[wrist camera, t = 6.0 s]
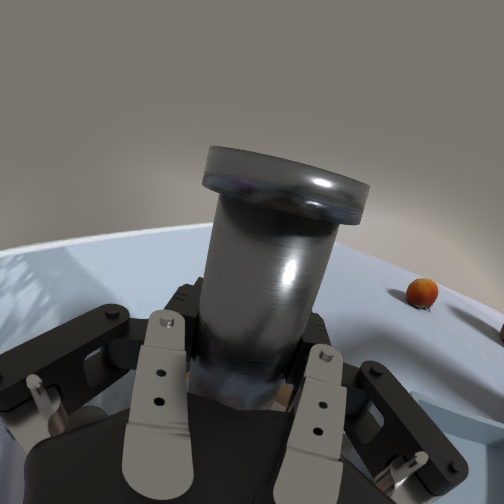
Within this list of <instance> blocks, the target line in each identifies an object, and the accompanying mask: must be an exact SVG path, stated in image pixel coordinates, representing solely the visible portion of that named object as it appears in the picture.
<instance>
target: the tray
mask: <svg viewBox="0 0 504 504" xmlns="http://www.w3.org/2000/svg"><path fill="white" fill-rule="evenodd" d="M410 395H411V396H412V397H413V398H414V400H415V401H416V402H417V403H418V404H419V405H420V406H421V408H422V409H423V410H424V411H425V412H426V413H427V415H428V416H429V417H430V418H431V419H432V420H433V422H434V423H435V424H436V425H437V426H438V427H439V429H440V430H441V431H442V432H443V433H444V435H445V436H446V437H447V438H448V439H449V441H450V442H451V443H452V444H453V445H454V447H455V448H456V449H457V450H458V451H459V453H460V454H461V455H462V456H463V457H464V459H465V460H466V462H467V464H468V467H469V474H468V476H467V478H466V479H465V480H464V481H463V482H462V483H461V484H459V485H458V486H457V487H455V488H454V489H453V490H451V491H450V492H449V493H447V494H446V495H444V496H443V497H441V498H440V499H438V500H437V501H435V502H434V503H432V504H504V424H503V423H500V422H497V421H494V420H490V419H487V418H484V417H481V416H478V415H475V414H473V413H470V412H467V411H464V410H461V409H458V408H456V407H453V406H450V405H447V404H445V403H442V402H440V401H437V400H434V399H432V398H429V397H427V396H424V395H422V394H419V393H417V392H414V391H411V393H410ZM373 483H374V480H373Z"/></svg>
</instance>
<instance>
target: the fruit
mask: <svg viewBox="0 0 504 504" xmlns="http://www.w3.org/2000/svg"><path fill="white" fill-rule="evenodd" d="M406 295H407V299H408V301H409V303H410V304H411V305H413V306H416V307H418V308H419V309H421V308H427V309H429V308H430V307H431V306H432V304H433V303H434V302H435V300H436V298H437V296H438V287H437V285H436V283H435V282H433V281H432V280H430V279H426V278H425V279H416V280H415V281H413V282H412V283H411V284H410V285H409V286H408V289H407V291H406ZM429 311H430V309H429Z"/></svg>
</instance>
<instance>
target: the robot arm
mask: <svg viewBox="0 0 504 504" xmlns="http://www.w3.org/2000/svg"><path fill="white" fill-rule="evenodd" d="M202 284H203V278H202V277H199V278H198V279H197V281H196V283H195V284H194V286H193V285H189V284H185V285H183V286H180V287H179V288H178V289H177V291H176V292H175V294H174V295H173V297H172V298H171V299H170V301H169V302H168V304H167V305H166V307H165V308H164V310H157V311H155V312H153V313H152V314H151V315H150V317H149V319H135V318H130V314H129V311H128V310H127V309H126V308H125V307H123V306H121V305H118V304H105V305H102V306H100V307H98V308H95V309H93V310H91V311H89V312H87V313H85V314H83V315H81V316H79V317H77V318H74V319H72V320H70V321H68V322H66V323H64V324H62V325H60V326H58V327H56V328H54V329H52V330H49V331H47V332H45V333H43V334H41V335H39V336H37V337H35V338H33V339H31V340H29V341H27V342H25V343H23V344H21V345H19V346H17V347H15V348H13V349H11V350H9V351H7V352H5V353H3V354H1V355H0V423H1V424H2V425H3V426H4V427H5V429H6V430H7V432H8V433H9V434H10V436H11V437H12V438H13V439H14V440H16V441H17V442H18V443H19V445H20V446H21V447H22V449H23V450H24V451H25V453H26V454H27V457H26V460H25V465H24V479H25V492H24V500H23V504H432V503H434V502H435V501H437V500H438V499H440V498H441V497H443V496H444V495H446V494H447V493H449V492H450V491H451V490H453V489H454V488H455V487H457V486H458V485H459V484H461V483H462V482H463V481H464V480H465V479H466V478H467V476H468V474H469V467H468V464H467V462H466V460H465V459H464V457H463V456H462V455H461V454H460V453H459V451H458V450H457V449H456V448H455V447H454V445H453V444H452V443H451V442H450V441H449V439H448V438H447V437H446V436H445V435H444V433H443V432H442V431H441V430H440V429H439V427H438V426H437V425H436V424H435V423H434V422H433V420H432V419H431V418H430V417H429V416H428V415H427V413H426V412H425V411H424V410H423V409H422V408H421V406H420V405H419V404H418V403H417V402H416V401H415V400H414V398H413V397H412V396H411V395H410V394H409V393H408V391H407V390H406V389H405V388H404V387H403V386H402V385H401V383H400V382H399V381H398V380H397V379H396V378H395V377H394V376H393V374H392V373H391V372H390V371H389V370H388V369H387V368H386V367H385V366H384V365H382V364H380V363H378V362H375V361H365V362H363V363H362V365H361V367H360V368H357V367H355V366H352V365H349V364H346V363H344V362H343V356H342V354H341V353H340V352H339V351H338V350H337V349H336V348H334V347H332V346H331V343H330V340H329V337H328V333H327V330H326V327H325V323H324V320H323V319H322V318H321V317H320V316H319V315H318V314H317V313H313V312H312V310H311V313H310V316H309V318H308V321H307V324H306V326H305V329H304V331H303V334H302V337H301V339H300V342H299V344H298V347H297V349H296V352H295V354H294V357H293V359H292V362H291V364H290V366H289V369H288V371H287V374H286V376H285V383H288V384H293V386H294V388H293V390H292V392H291V394H290V397H289V400H288V403H287V406H286V408H285V411H284V412H282V411H275V410H236V409H233V408H231V407H229V406H226V405H224V404H222V403H219V402H217V401H215V400H212V399H210V398H208V397H204V396H200V395H196V394H192V393H188V392H187V380H186V362H190V360H191V358H192V352H193V345H194V338H195V331H196V324H197V317H198V310H199V303H200V297H201V290H202ZM98 348H100V352H98V353H96V354H95V355H93V356H92V357H90V358H88V359H87V360H85V358H86V357H87V355H89V354H90V353H92V352H93V351H95V350H97V349H98ZM84 360H85V361H84ZM130 369H134V370H136V375H135V381H134V387H133V393H132V400H131V407H130V408H128V409H125V410H123V411H120V412H118V413H115V414H113V415H110V416H108V417H105V418H103V419H100V420H98V421H95V422H92V423H90V424H87V425H84V426H81V427H78V428H76V429H73V430H70V431H67V432H64V433H63V430H64V429H65V428H66V426H67V424H68V416H69V415H70V414H72V413H73V412H74V411H76V410H77V409H79V408H80V407H81V406H83V405H84V404H86V403H87V402H88V401H90V400H91V399H92V398H94V397H95V396H97V395H98V394H99V393H101V392H102V391H104V390H105V389H106V388H108V387H109V386H110V385H112V384H113V383H114V382H116V381H117V380H119V379H120V378H121V377H123V376H124V375H125V374H127V373H128V372H129V371H130ZM373 404H374V405H375V406H376V407H377V409H378V410H379V411H380V413H381V414H382V416H383V417H384V425H383V427H382V428H381V427H380V425H379V424H378V423H377V421H376V420H375V419H374V417H373V416H372V414H371V413H370V412H369V409H370V408H371V406H372V405H373ZM343 430H344V431H345V433H346V435H347V436H348V438H349V440H350V441H351V443H352V444H353V446H354V448H355V449H356V451H357V452H358V454H359V456H360V457H361V459H362V460H363V462H364V464H365V465H366V467H367V468H368V470H369V472H370V473H371V475H372V476H373V478H374V483H373V482H372V481H370V480H369V479H368V478H367V477H366V476H365V475H364V474H363V473H362V472H360V471H359V470H358V469H357V468H356V467H355V466H354V465H353V464H352V463H351V462H350V461H349V460H348V459H346V458H345V457H344V456H343V455H342V454H341V445H342V437H343Z"/></svg>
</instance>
